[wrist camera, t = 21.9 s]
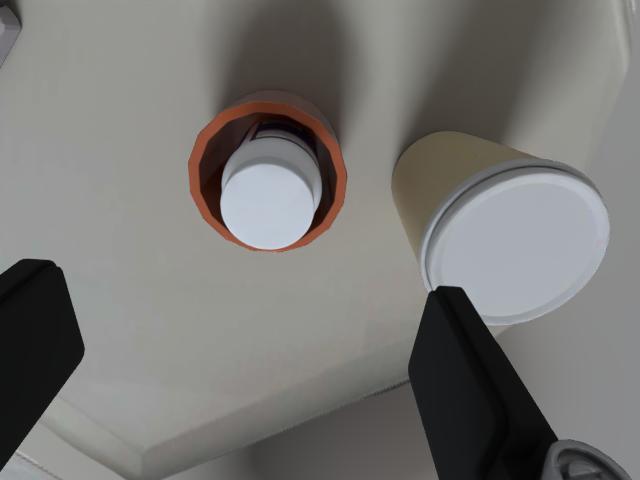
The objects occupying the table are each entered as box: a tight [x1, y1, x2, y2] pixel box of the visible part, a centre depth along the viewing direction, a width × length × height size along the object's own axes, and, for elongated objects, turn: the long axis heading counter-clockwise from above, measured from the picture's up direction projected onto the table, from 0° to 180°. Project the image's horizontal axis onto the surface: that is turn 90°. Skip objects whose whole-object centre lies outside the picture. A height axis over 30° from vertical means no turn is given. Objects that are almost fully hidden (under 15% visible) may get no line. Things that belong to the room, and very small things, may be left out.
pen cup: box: [188, 90, 347, 252], centre depth 24 cm, size 9×9×6 cm
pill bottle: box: [220, 118, 322, 250], centre depth 22 cm, size 6×6×10 cm
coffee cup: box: [391, 131, 610, 325], centre depth 23 cm, size 9×9×12 cm
